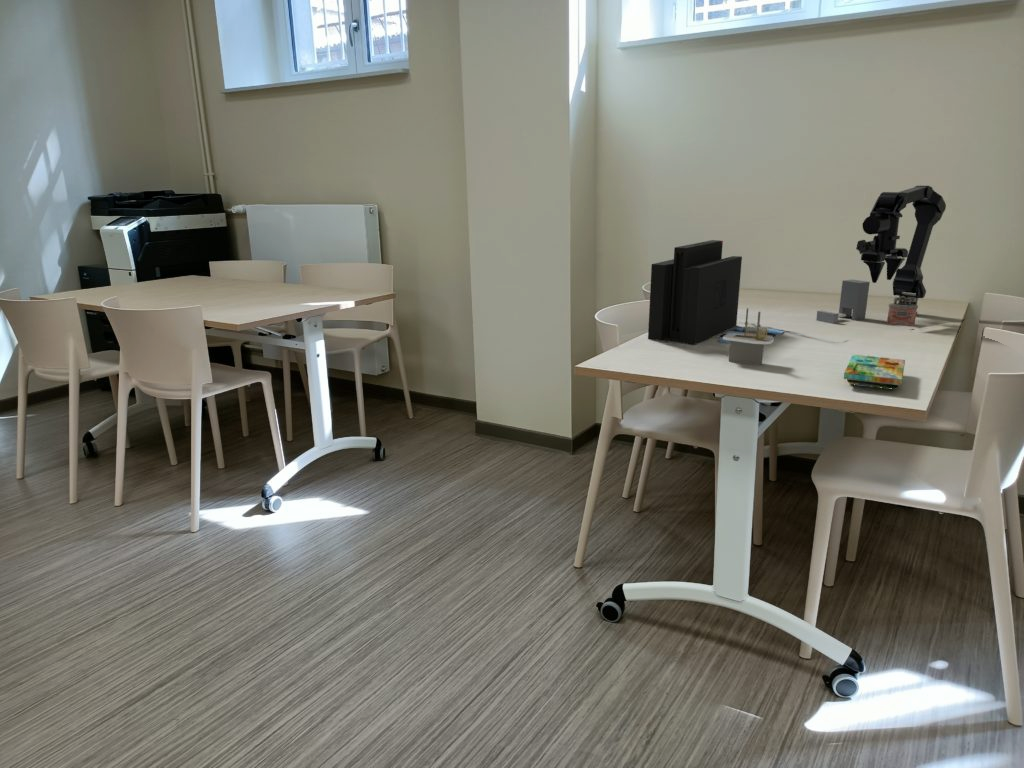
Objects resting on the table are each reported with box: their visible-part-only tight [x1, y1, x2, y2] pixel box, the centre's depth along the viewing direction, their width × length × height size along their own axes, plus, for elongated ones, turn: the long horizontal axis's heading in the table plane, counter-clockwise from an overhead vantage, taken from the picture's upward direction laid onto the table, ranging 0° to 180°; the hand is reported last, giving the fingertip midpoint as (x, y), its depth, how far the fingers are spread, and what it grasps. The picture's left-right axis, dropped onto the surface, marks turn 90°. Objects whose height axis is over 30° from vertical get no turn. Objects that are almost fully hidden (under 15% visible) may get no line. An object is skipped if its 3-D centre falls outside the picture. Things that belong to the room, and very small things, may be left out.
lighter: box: [886, 296, 919, 331], centre depth 235 cm, size 8×3×10 cm, turn 62°
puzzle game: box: [843, 354, 906, 390], centre depth 176 cm, size 12×5×20 cm
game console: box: [647, 239, 785, 346], centre depth 223 cm, size 35×30×27 cm
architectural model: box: [723, 307, 775, 366], centre depth 193 cm, size 21×25×14 cm
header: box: [815, 310, 846, 325], centre depth 240 cm, size 8×6×3 cm
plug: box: [838, 279, 870, 321], centre depth 243 cm, size 5×6×12 cm
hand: (881, 281), depth 245 cm, fingers open, 9 cm apart
